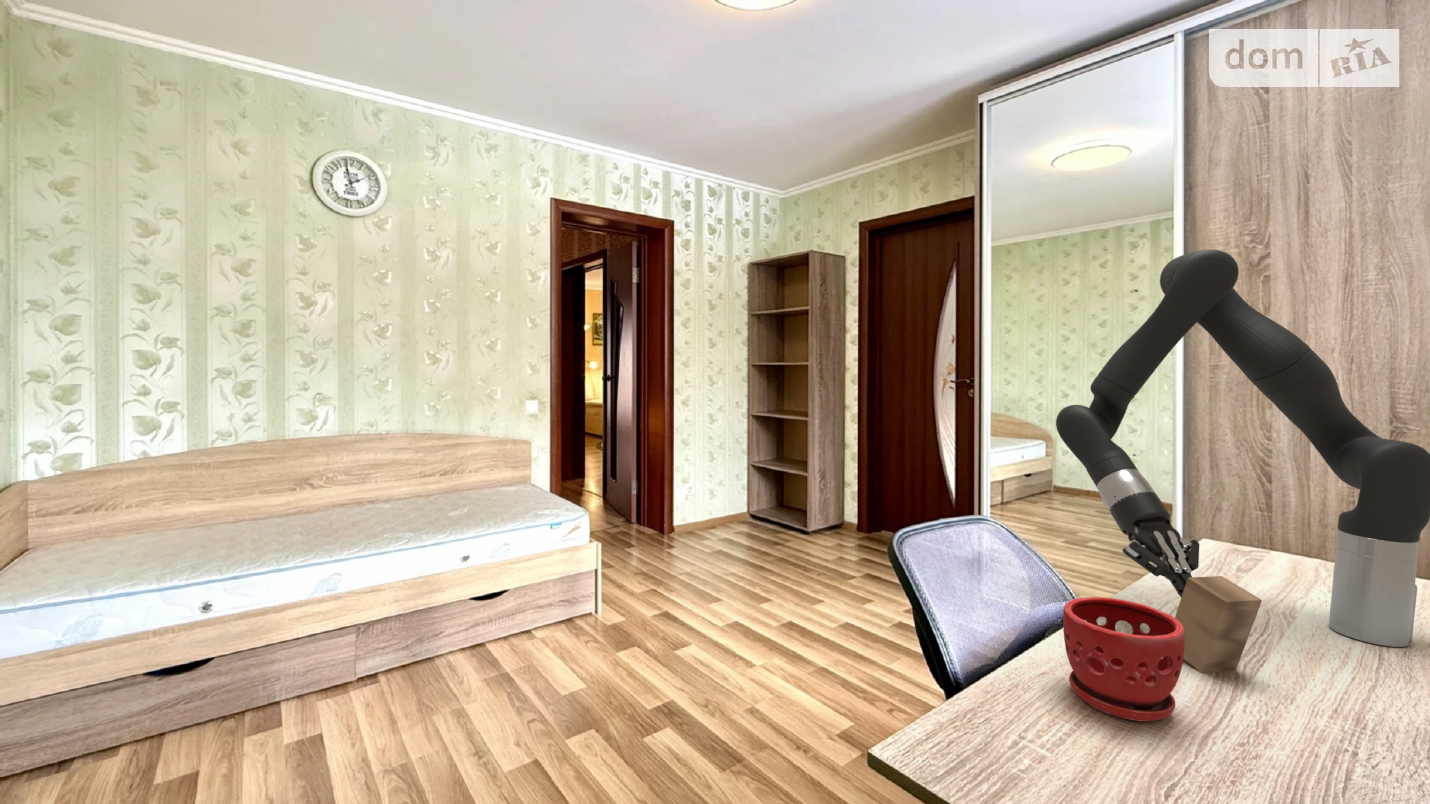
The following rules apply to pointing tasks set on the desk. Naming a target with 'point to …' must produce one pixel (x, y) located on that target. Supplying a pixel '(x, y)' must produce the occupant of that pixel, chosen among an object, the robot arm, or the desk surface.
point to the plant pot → (1123, 657)
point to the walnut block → (1215, 622)
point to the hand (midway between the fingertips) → (1194, 599)
